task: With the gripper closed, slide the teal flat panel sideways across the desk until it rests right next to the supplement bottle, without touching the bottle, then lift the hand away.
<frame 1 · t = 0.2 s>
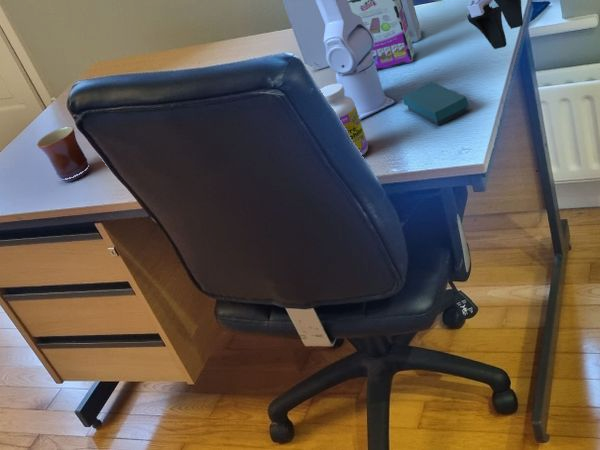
hand: (508, 36, 132), 10 cm above the table, tool pointing down, fingers open, 7 cm apart
candy bar box: (389, 64, 169), on the table
supplement bottle: (351, 155, 139), on the table
mug: (74, 175, 179), on the table
teal flat panel: (437, 111, 142), on the table
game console: (364, 53, 180), on the table
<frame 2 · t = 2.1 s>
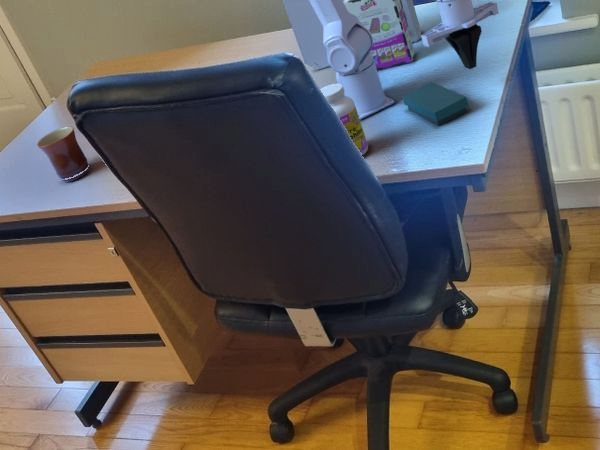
hand: (470, 66, 141), 5 cm above the table, tool pointing down, fingers closed
nothing on the table moved.
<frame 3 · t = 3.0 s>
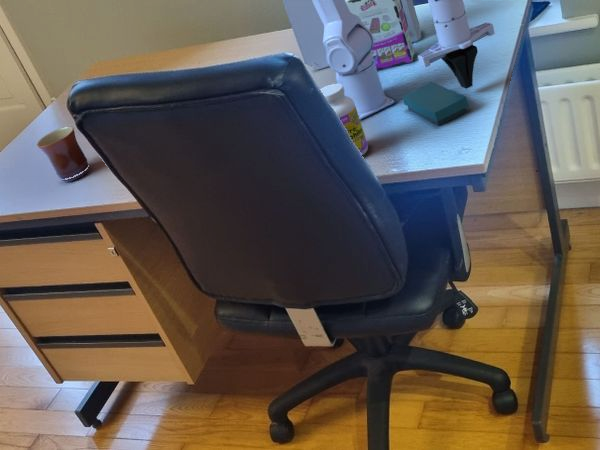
hand: (466, 86, 142), 2 cm above the table, tool pointing down, fingers closed
nothing on the table moved.
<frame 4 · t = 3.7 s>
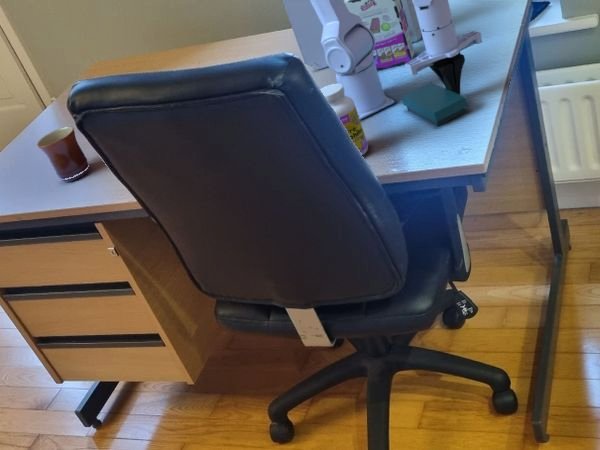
hand: (454, 94, 142), 1 cm above the table, tool pointing down, fingers closed
teal flat panel: (436, 111, 142), on the table, touching gripper
everything else where it was.
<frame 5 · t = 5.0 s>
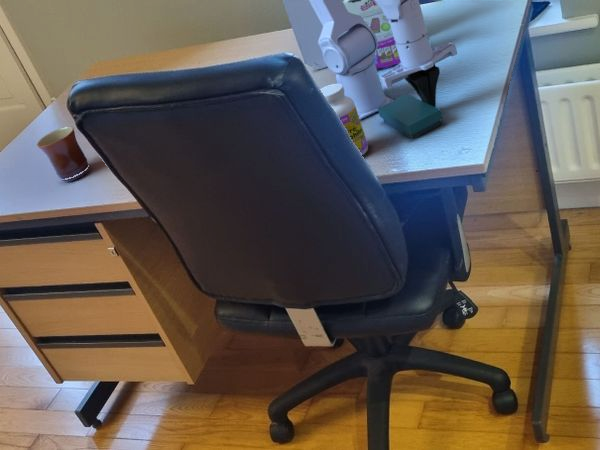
hand: (430, 106, 141), 1 cm above the table, tool pointing down, fingers closed
teal flat panel: (412, 123, 141), on the table, touching gripper
everything else where it was.
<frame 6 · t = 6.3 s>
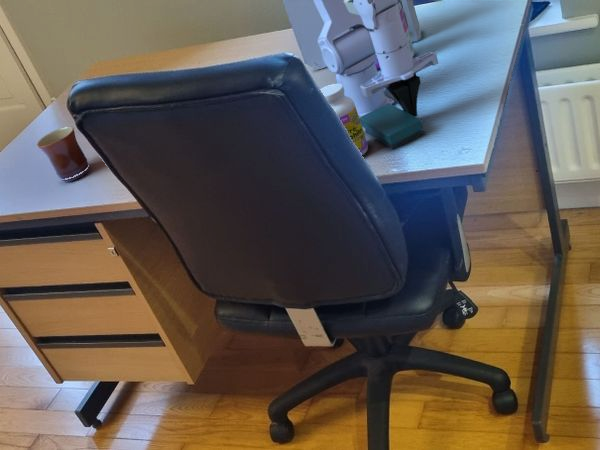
hand: (411, 115, 140), 1 cm above the table, tool pointing down, fingers closed
teal flat panel: (393, 133, 140), on the table, touching gripper
everything else where it was.
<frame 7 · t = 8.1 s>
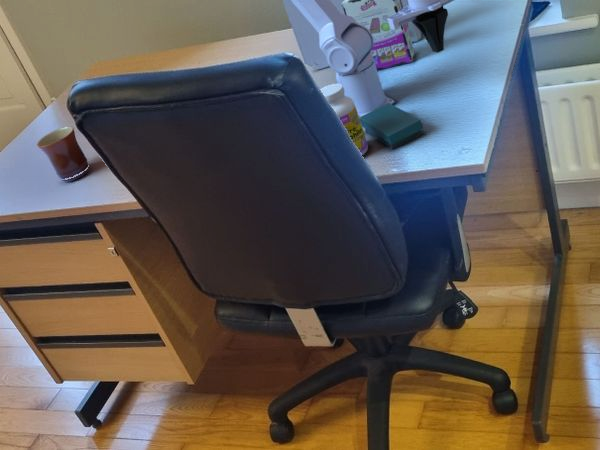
hand: (438, 50, 140), 9 cm above the table, tool pointing down, fingers closed
teal flat panel: (393, 133, 140), on the table
everything else where it was.
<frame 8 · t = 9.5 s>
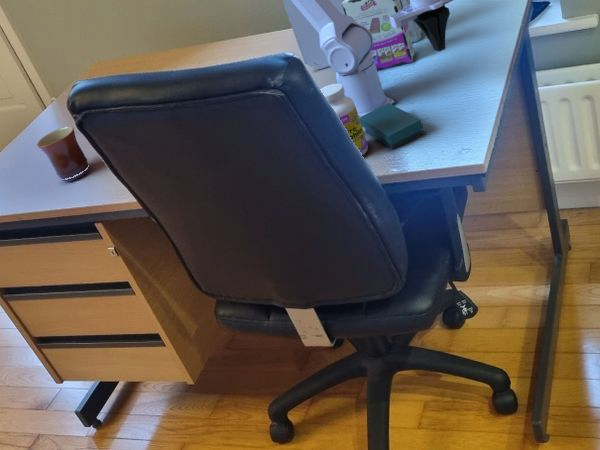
hand: (439, 49, 140), 9 cm above the table, tool pointing down, fingers closed
nothing on the table moved.
at the end: teal flat panel 0.3 cm from the target spot on the table beside the supplement bottle, on the table; supplement bottle moved 0.2 cm from its start; teal flat panel tilted 0° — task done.
